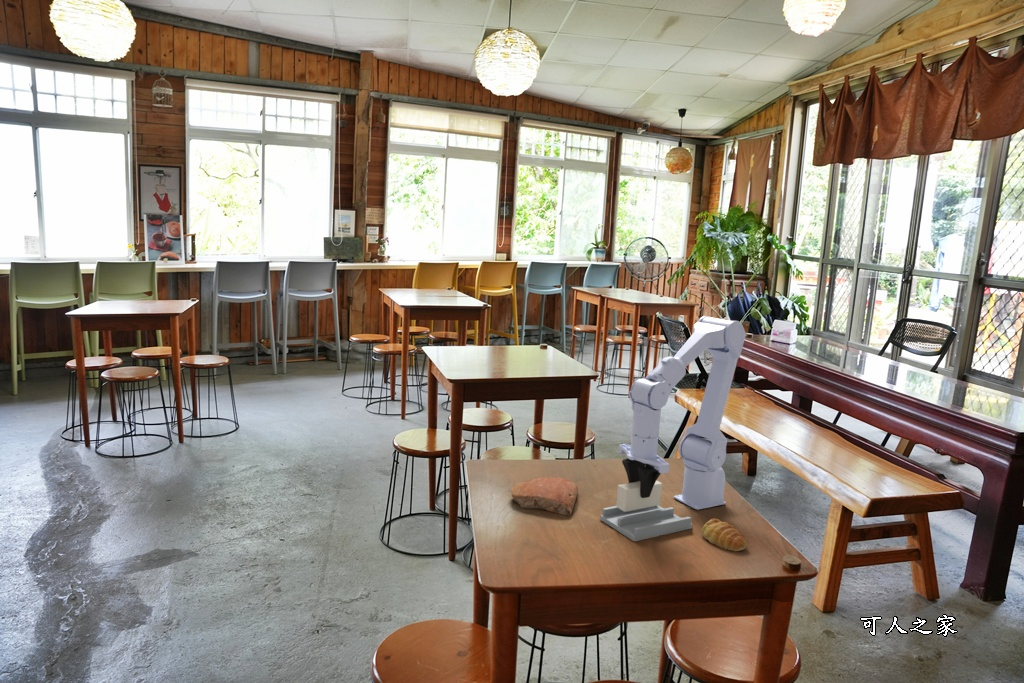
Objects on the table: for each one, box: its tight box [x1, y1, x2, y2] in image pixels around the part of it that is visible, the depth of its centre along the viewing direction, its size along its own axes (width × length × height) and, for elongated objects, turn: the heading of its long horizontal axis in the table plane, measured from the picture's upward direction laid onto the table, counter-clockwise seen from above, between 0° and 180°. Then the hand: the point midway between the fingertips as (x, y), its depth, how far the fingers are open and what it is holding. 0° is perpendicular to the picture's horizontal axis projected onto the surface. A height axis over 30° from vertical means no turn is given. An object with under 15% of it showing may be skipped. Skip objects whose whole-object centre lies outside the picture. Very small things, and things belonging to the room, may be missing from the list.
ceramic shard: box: [510, 477, 579, 516], centre depth 160 cm, size 15×6×15 cm
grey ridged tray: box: [599, 505, 693, 542], centre depth 150 cm, size 16×12×2 cm
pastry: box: [701, 518, 748, 552], centre depth 143 cm, size 9×7×4 cm
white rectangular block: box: [615, 479, 663, 512], centre depth 152 cm, size 10×3×5 cm, turn 119°
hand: (639, 494), depth 152 cm, fingers closed on white rectangular block, 3 cm apart
